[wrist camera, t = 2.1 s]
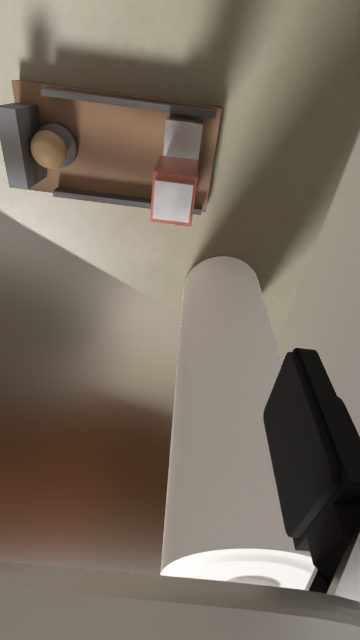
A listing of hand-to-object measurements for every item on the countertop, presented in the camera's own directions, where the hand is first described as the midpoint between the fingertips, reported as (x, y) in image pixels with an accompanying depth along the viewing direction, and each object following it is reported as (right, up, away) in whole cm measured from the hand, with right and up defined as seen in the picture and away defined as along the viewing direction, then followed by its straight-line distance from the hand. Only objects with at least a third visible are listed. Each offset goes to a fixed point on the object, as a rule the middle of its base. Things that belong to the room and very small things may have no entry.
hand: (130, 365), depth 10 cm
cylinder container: (+7, +5, +31) cm, 32 cm away
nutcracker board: (-4, +18, +22) cm, 29 cm away
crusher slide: (+2, +16, +21) cm, 26 cm away
